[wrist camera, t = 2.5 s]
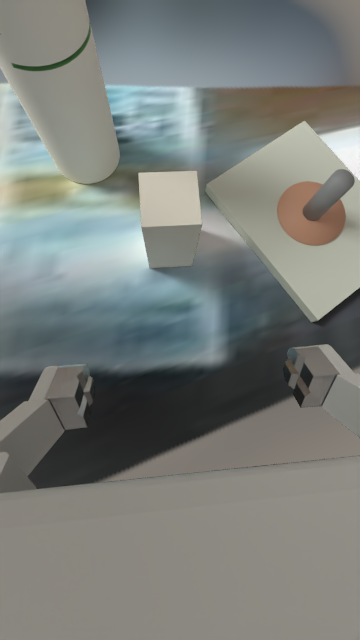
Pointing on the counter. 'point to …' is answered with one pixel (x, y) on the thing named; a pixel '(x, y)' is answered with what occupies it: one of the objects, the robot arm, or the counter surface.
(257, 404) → the counter surface
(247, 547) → the robot arm
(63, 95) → the cylindrical container
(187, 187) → the square block
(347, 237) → the base plate
